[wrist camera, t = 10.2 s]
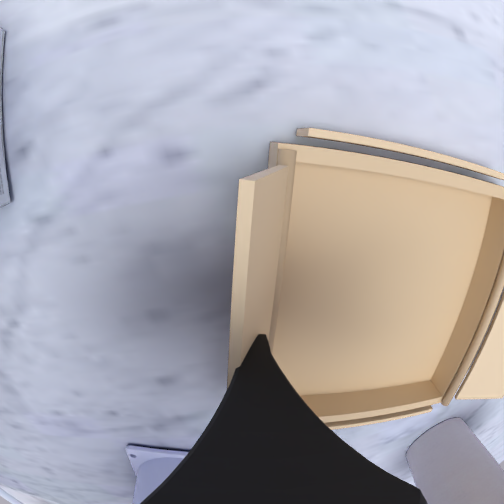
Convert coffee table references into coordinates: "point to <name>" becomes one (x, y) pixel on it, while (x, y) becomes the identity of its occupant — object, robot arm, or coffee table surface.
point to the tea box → (0, 178)
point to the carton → (382, 277)
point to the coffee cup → (455, 466)
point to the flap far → (487, 364)
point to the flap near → (255, 259)
